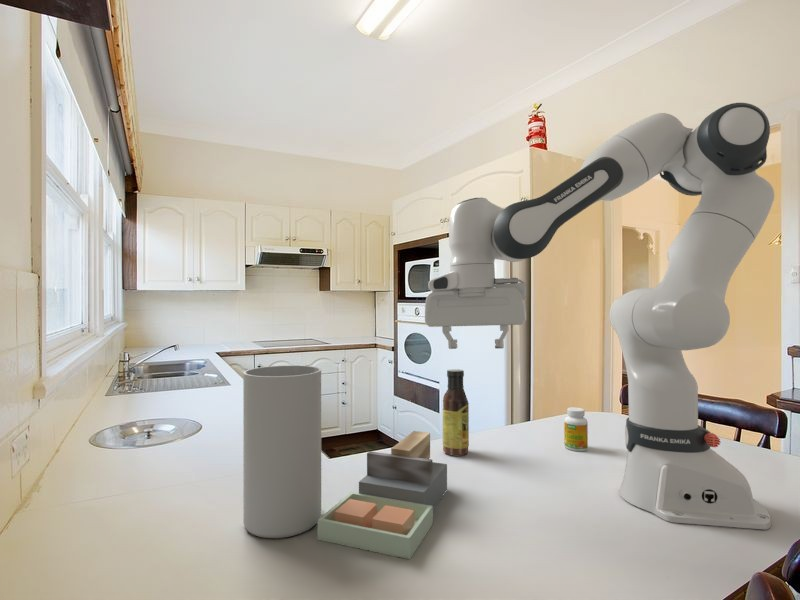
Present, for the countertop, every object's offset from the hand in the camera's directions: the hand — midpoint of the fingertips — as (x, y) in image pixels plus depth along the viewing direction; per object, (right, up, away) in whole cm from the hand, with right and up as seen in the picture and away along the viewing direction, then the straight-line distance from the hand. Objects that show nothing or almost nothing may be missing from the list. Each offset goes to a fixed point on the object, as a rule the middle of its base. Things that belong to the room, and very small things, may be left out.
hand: (475, 348), depth 92 cm
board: (-14, -27, -8) cm, 32 cm away
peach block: (-16, -23, -21) cm, 36 cm away
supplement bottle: (+28, -27, +21) cm, 45 cm away
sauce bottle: (-2, -27, +18) cm, 33 cm away
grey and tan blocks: (-13, -22, -5) cm, 26 cm away
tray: (-19, -27, -20) cm, 38 cm away
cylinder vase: (-35, -27, -16) cm, 47 cm away
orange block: (-22, -23, -19) cm, 38 cm away
